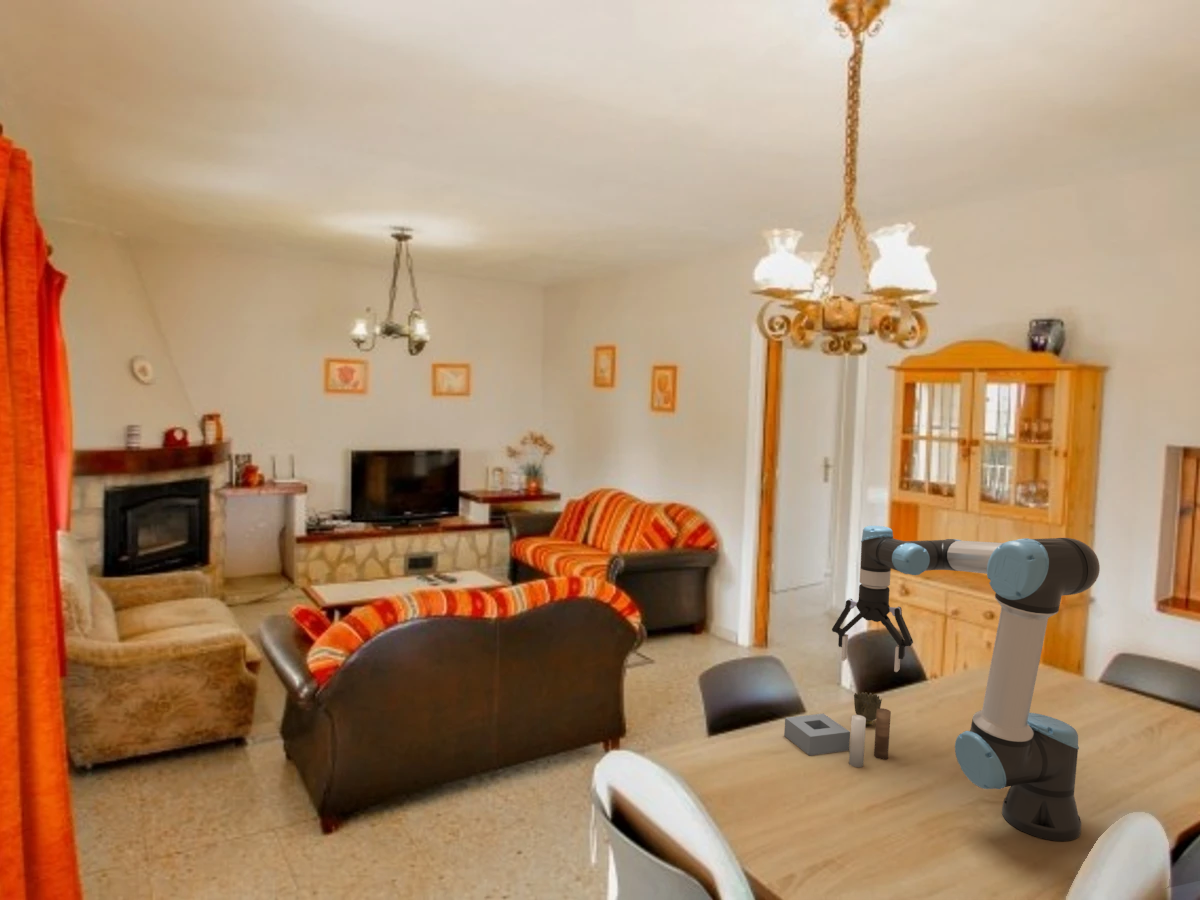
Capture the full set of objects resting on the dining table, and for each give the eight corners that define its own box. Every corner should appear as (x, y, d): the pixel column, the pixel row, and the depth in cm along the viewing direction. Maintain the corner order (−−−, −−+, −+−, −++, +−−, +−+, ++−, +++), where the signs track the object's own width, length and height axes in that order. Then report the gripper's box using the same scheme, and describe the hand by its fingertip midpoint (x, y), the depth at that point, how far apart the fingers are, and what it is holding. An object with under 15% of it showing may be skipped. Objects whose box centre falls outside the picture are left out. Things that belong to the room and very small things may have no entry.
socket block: (849, 750, 207) (850, 731, 207) (809, 755, 203) (810, 736, 203) (822, 731, 219) (823, 713, 218) (784, 735, 215) (785, 717, 214)
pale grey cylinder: (866, 766, 199) (868, 719, 198) (854, 767, 198) (857, 721, 197) (857, 760, 202) (860, 714, 201) (846, 761, 201) (848, 715, 200)
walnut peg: (890, 758, 203) (893, 712, 202) (879, 760, 202) (882, 714, 201) (882, 752, 207) (884, 707, 206) (871, 754, 205) (873, 709, 205)
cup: (883, 730, 220) (885, 702, 220) (857, 729, 221) (858, 701, 220) (875, 719, 228) (876, 692, 227) (849, 718, 228) (850, 690, 227)
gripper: (928, 590, 204) (923, 671, 206) (831, 575, 218) (827, 651, 219) (921, 596, 198) (916, 679, 199) (822, 580, 212) (818, 658, 213)
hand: (870, 664), depth 209 cm, fingers open, 13 cm apart
